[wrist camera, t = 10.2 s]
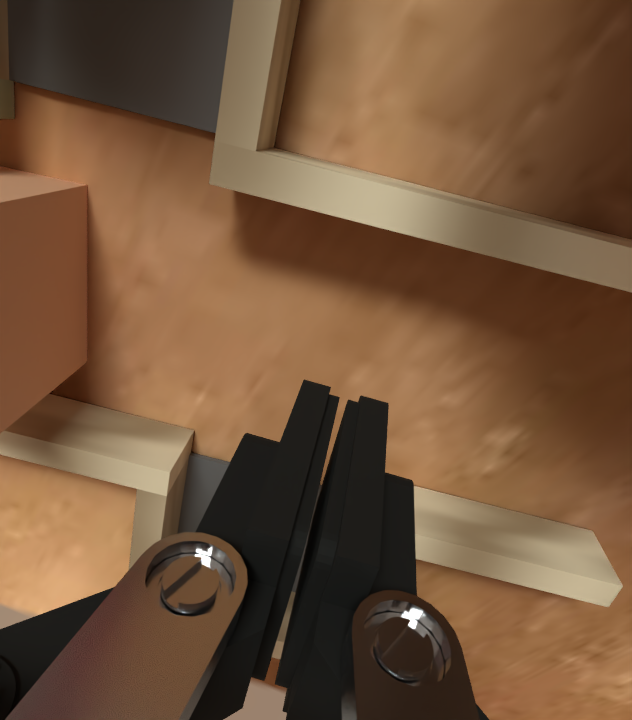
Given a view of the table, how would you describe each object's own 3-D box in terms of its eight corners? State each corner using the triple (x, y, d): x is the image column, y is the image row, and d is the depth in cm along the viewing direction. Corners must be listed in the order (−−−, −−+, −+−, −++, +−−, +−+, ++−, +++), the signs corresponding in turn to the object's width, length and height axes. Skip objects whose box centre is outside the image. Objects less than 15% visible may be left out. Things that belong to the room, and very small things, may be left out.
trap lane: (918, 1, 12) (1049, -28, 10) (512, 659, 22) (529, 721, 20) (-274, -312, 12) (-432, -420, 9) (-127, 500, 22) (-185, 543, 19)
